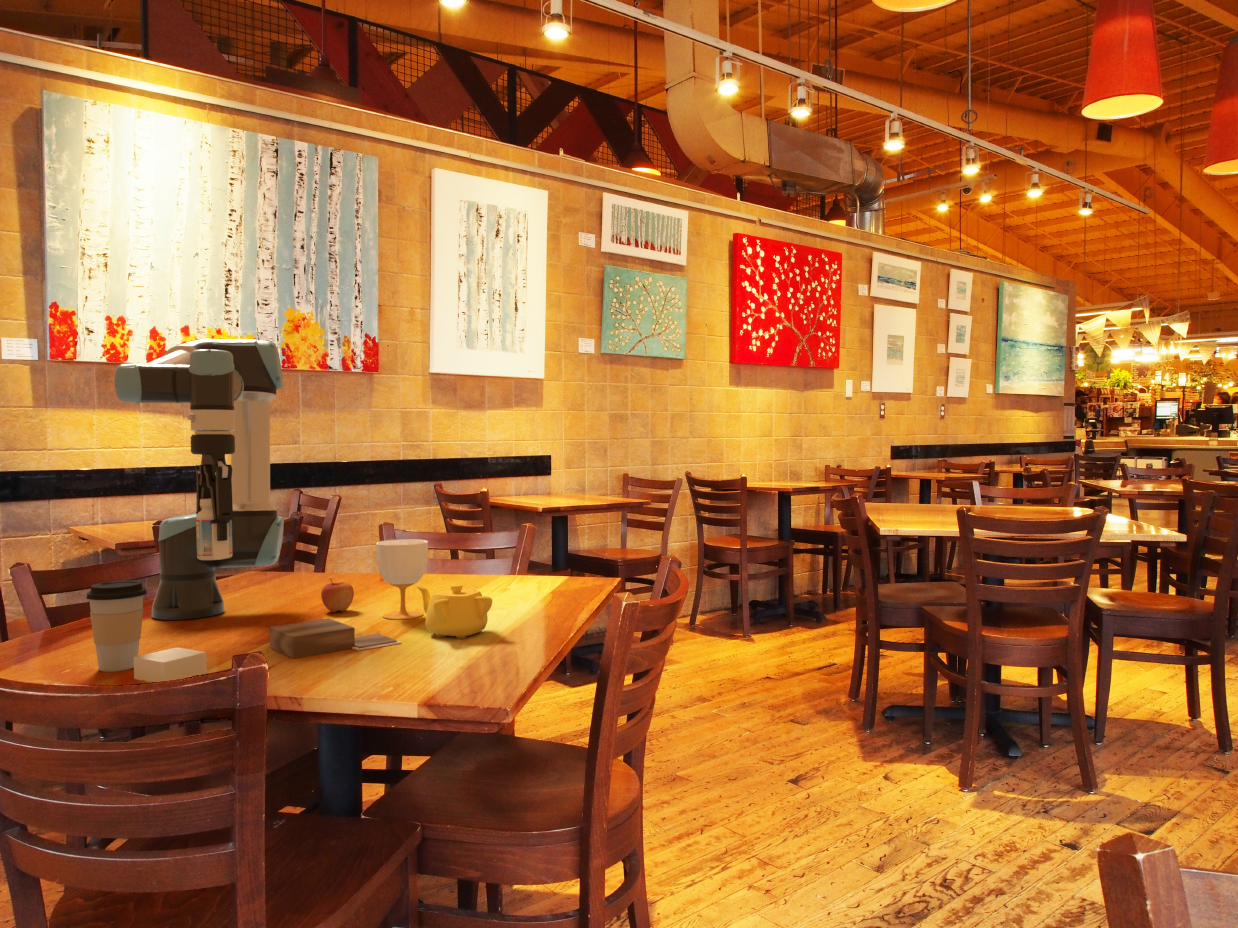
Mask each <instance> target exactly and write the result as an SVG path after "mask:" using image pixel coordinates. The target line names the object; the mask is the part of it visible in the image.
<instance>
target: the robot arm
mask: <svg viewBox="0 0 1238 928" xmlns="http://www.w3.org/2000/svg"><path fill="white" fill-rule="evenodd" d="M278 350H279V349H278V346H277V345H276V344H275V342H272V341H271V340H262V339H255V338H254V339H238V338H237V339H232V338H231V339H229V338H228V339H224V338H223V339H222V338H219V339H218V338H217V339H216V338H203V339H202V338H201V339H197V340H193V341H189V342H188V341H187V342H184V343H181V344H177V345H175V346H172V347H170V348H168V350H166V351H165V352H164V354H163V355H162V356H161V357H159V358H156V359H153V360H151V361H149V362H147V363H136V362H132V363H121V364H119V365H118V366H117V367H116V369H115V372H114V378H113V379H114V391H115V395H116V398H117V399H118V400H120V401H121V402H122V403H134V404H135V403H136V404H137V405H138V404H144V403H145V404H146V403H147V404H152V403H154V404H157V403H158V404H159V403H160V404H163V403H164V404H165V403H166V404H167V403H168V404H170V403H171V404H190V405H189V407H190V408H189V409H190V414H188V415H187V420H188V421H190V431H191V432H194V434H191V436H190V453H191V454H192V455H201V460H200V461H201V462H200V464H196V465H195V468H194V469H195V473H196V474H195V475H196V497H195V499H196V504H195V505H196V507H195V508H196V510H195V511H196V512H195V513H193V514H186V515H180V516H174V517H169V518H166V519H164V520H162V521H161V523H160V524H159V530H158V531H159V532H158V539H157V541H158V553H159V554H158V556H159V557H158V559H159V561H158V562H159V585H158V588H157V590H156V593H155V597H154V599H153V602H152V605H151V618H153V619H157V620H163V621H166V620H168V621H172V620H173V621H174V620H175V621H176V620H177V621H178V620H181V621H182V620H193V619H201V618H207V617H212V616H217V615H219V614H221V613H224V612H225V602H224V598H223V596H222V593H221V590H220V588H219V585H218V583H217V582H218V581H217V579H216V569H218V568H220V569H221V568H222V569H224V568H225V569H226V568H246V567H247V568H249V567H250V568H251V567H254V568H258V567H264V566H266V567H267V566H273V565H275V564H276V562H277V561H278V560H279V558H280V554H281V551H282V550H281V549H282V544H283V538H284V528H285V527H284V524H285V519H284V518H283V516H281V515H278V509H277V508H276V507H275V506H274V505H273V504H272V503H271V431H270V429H271V426H270V425H271V419H270V417H271V413H270V412H271V411H270V409H271V404H272V401H273V400H275V399H276V398H277V390H278V391H279V390H282V389H283V388H284V378H283V377H284V376H283V370H282V364H281V359H280V353H279V351H278ZM226 455H230V465H228V464H227V462H226ZM208 498H211V500H212V509H213V517H214V520H211V521H210V524H212V559H221V558H226V559H221V560H200V559H198V558H197V533H196V515H197V514H198V513H199V512H200V511H202V508H201V507H200V499H208ZM230 520H232V548H233V555H232V557H231V558H229V522H230Z"/></svg>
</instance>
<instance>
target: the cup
mask: <svg viewBox="0 0 1238 928" xmlns="http://www.w3.org/2000/svg"><path fill="white" fill-rule="evenodd" d="M375 549H376V550H375V551H376V561H377V566H378V567H377V568H378V570H379V573H380V576H381V578H382V580H384V582H385V583H387V584H389V585H390V586H392V587H395V588H398V589H399V591H400V593H399V594H400V606H399V607H400V608H399V610H398V611H391V612H387V613H384V614H383V615H382V618H383V619H386V620H391V621H395V620H396V621H397V620H398V621H402V620H404V621H405V620H415V619H417V618H421V617H423V615H424V614H423V613H424V612H421V611H416V610H407V609H406V608H407V607H406V589H407V588H408V587H411V586H414V585H415V584H417V583H418V582H420V581H421V579H422V578H423V576H424V575H425V572H426V568H427V563H428V562H427V561H428V553H429V552H428V551H429V541H428V540H427V539H426V540H425V539H417V538H412V539H410V538H406V539H405V538H404V539H402V538H401V539H399V538H398V539H388V540H380V541H377V542H376V544H375Z"/></svg>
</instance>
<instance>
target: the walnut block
mask: <svg viewBox="0 0 1238 928" xmlns="http://www.w3.org/2000/svg"><path fill="white" fill-rule="evenodd" d="M355 638H356V637H355V627H354V626H351V625H348V624H345V623H343V622H340V621H337V620H335V619H332V618H321V619H314V620H307V621H301V622H300V621H299V622H294V623H293V622H292V623H288V624H287V623H286V624H280V625H273V626H269V648H271V649H273V650H275V651H277V652H278V653H281V654H283V655H285V656H288V657H289V658H291V659H298V658H304V657H311V656H315V655H316V656H317V655H322V654H328V653H333V652H339V651H346V650H351V649H352V647H355ZM352 650H353V649H352Z"/></svg>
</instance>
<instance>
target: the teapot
mask: <svg viewBox="0 0 1238 928" xmlns="http://www.w3.org/2000/svg"><path fill="white" fill-rule="evenodd" d="M415 587H416V588H417V589H418V590H419V592H421V595H422V602H423V611H424V613H425V627H426V629H427V631H428V633H429V634H435V636H436V637H438V638H439V637H446V636H453V637H454V636H455V637H456V639H465V638H466V637H467V636H471V635H474V634H477V633H479V632H482V631H484V630H485V628H486V627H487V625H488V624H487V623H488V612H489V611H490V610H491V608H492V604H493V599H492V597H490V596H486V595H484V596H483V594H482V592H481V591H479V590H476V589H474V588H473V589H471V588H470V589H463V585H462V584H451V585H450V588H449V589H445V590H444V589H443V590H440V591H437V592H434V593H433V594H431V596H430V592H429V590H428V589H427V588H426V587H424V586H420V585H416V586H415Z"/></svg>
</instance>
